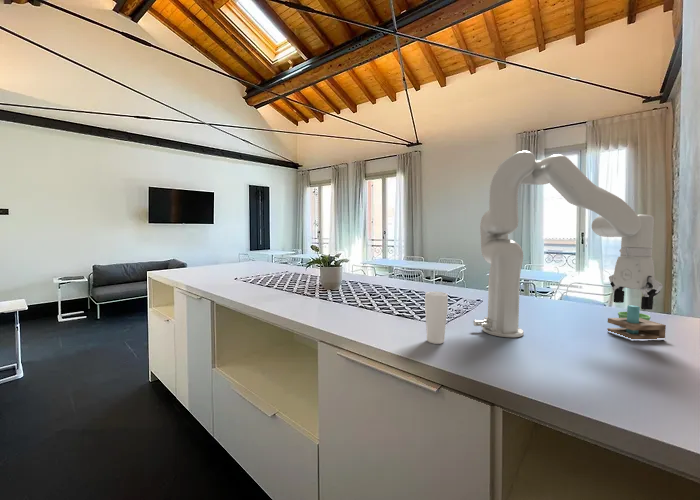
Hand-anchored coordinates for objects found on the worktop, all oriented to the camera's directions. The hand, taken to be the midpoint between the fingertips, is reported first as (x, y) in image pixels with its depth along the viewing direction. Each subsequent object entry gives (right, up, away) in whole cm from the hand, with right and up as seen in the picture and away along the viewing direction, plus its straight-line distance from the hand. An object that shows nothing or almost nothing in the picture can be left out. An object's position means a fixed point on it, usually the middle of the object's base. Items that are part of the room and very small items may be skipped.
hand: (631, 305), depth 105 cm
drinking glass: (-65, -10, -5) cm, 66 cm away
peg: (0, -10, +1) cm, 10 cm away
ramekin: (+12, -10, +13) cm, 20 cm away
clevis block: (0, -10, +1) cm, 10 cm away
